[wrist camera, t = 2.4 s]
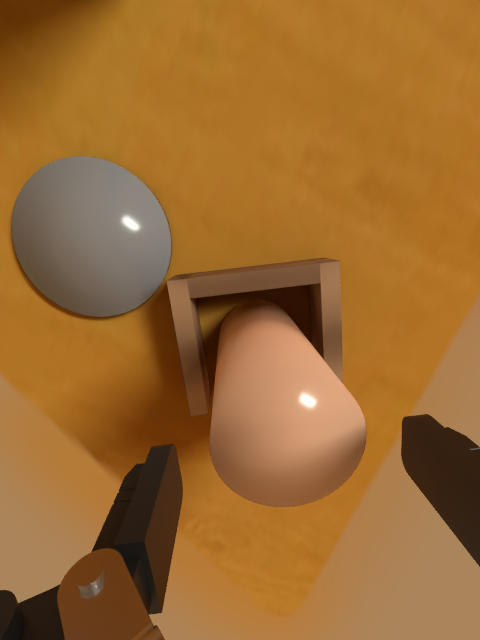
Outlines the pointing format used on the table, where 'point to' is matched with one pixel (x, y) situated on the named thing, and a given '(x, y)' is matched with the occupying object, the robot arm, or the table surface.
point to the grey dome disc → (91, 236)
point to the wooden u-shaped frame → (191, 286)
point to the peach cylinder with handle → (279, 412)
